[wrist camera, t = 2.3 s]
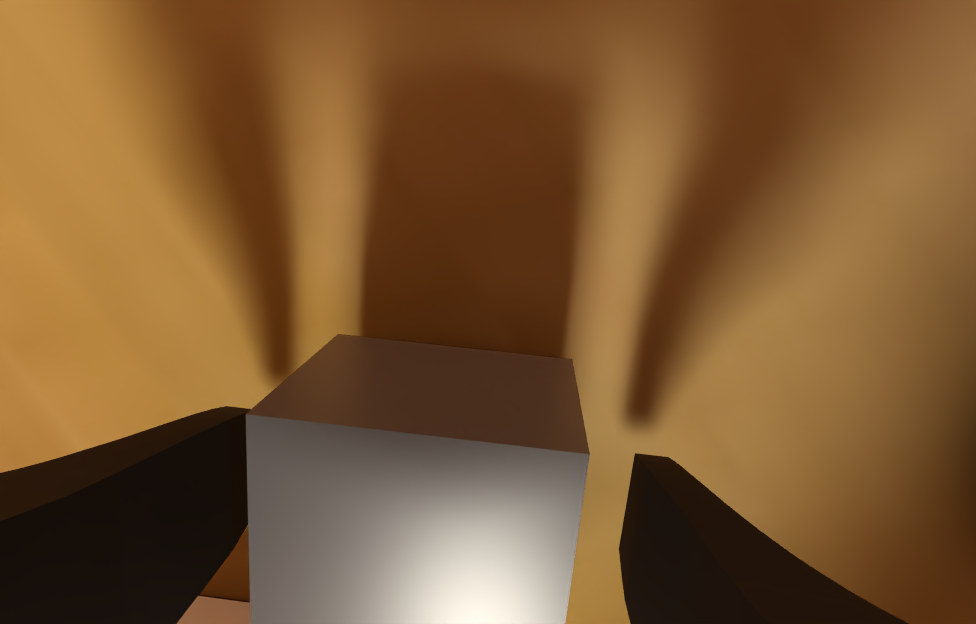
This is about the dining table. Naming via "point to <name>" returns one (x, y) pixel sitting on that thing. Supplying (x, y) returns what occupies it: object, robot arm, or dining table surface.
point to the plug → (415, 487)
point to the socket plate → (216, 612)
